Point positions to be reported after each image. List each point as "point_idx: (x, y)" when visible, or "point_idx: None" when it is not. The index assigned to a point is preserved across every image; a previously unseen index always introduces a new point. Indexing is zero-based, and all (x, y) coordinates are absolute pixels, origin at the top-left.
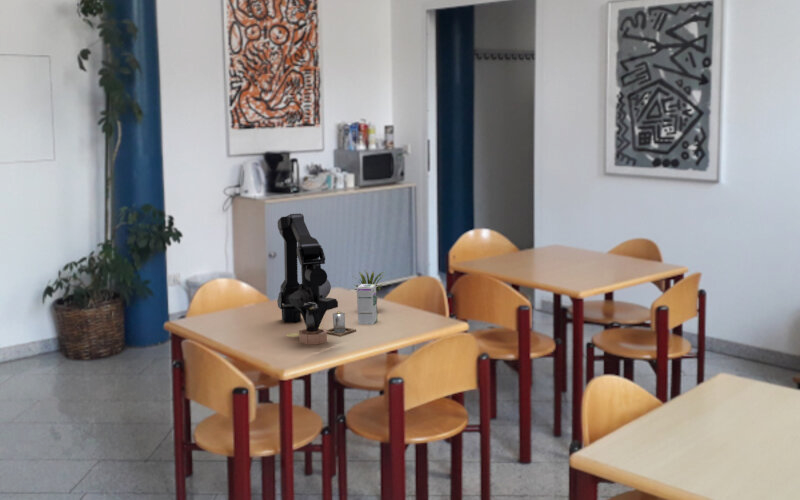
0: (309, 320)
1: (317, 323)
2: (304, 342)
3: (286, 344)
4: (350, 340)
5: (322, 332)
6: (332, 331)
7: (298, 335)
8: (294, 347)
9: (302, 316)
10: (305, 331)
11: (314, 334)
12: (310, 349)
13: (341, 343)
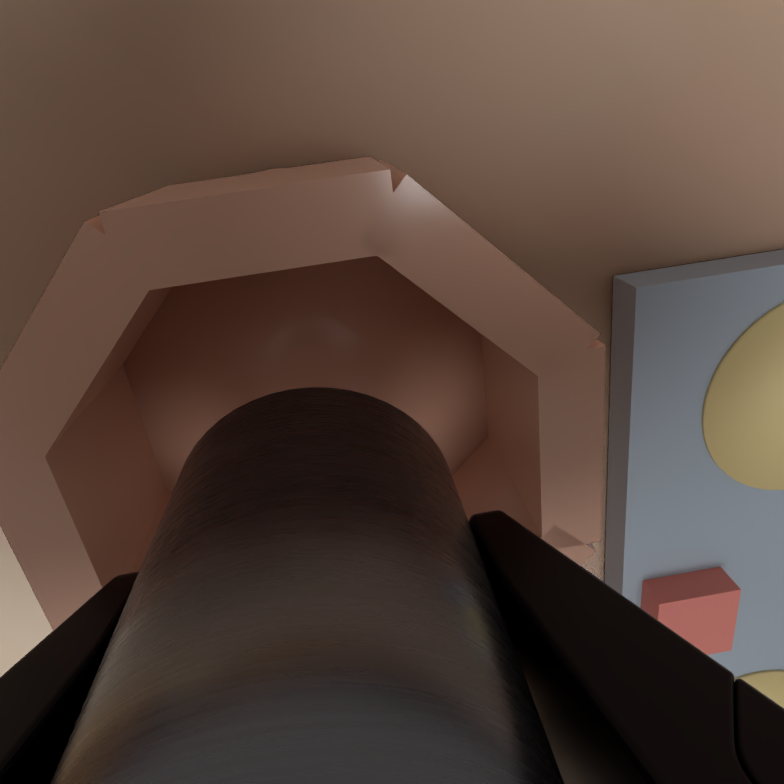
0: (177, 626)
1: (13, 692)
2: (238, 177)
3: (637, 51)
4: None
5: (89, 580)
6: None
7: (723, 425)
8: (360, 8)
9: (738, 683)
10: (530, 453)
11: (37, 380)
12: (18, 130)
13: (45, 632)
